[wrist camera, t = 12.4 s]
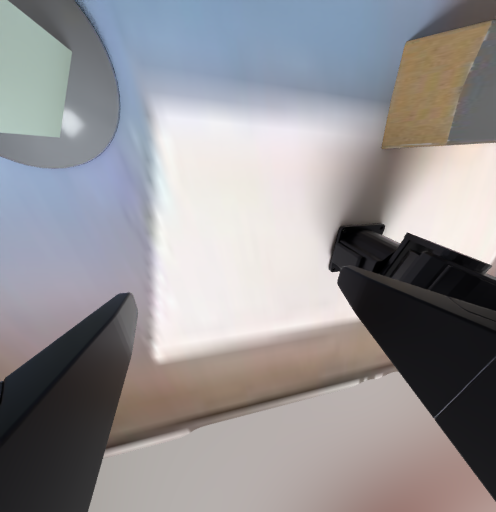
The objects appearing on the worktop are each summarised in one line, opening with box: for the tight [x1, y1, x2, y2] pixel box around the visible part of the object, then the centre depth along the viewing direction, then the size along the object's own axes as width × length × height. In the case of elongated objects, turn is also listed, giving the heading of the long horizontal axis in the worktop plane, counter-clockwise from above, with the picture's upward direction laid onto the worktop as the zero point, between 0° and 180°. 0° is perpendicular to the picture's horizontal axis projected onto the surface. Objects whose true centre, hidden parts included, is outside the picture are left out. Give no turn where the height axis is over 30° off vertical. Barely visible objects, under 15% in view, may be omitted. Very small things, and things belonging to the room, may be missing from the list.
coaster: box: [0, 0, 120, 169], centre depth 12 cm, size 11×11×1 cm
